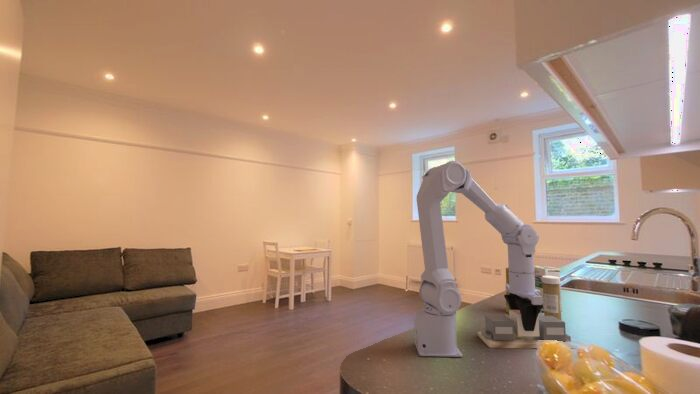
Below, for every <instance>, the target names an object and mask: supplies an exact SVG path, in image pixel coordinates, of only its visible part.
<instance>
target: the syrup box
mask: <svg viewBox="0 0 700 394" xmlns="http://www.w3.org/2000/svg"><path fill="white" fill-rule="evenodd" d="M534 275H535V289H538V290H540V293H538V294H539V295H540V296H542V303H543V284H542V276H556V277H559V279H560V280H561V268H558V267H551V266H545V265H534ZM561 285H562V284H561V281H560V284H559V289H560V302H561V313H562V311H563V309H562V308H563V307H562V288H561V287H562V286H561ZM541 311H542V312H544V304H543V307H542V309H541V310H540V312H541Z"/></svg>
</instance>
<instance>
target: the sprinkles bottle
mask: <svg viewBox="0 0 700 394" xmlns="http://www.w3.org/2000/svg"><path fill="white" fill-rule="evenodd" d="M560 282H561V278H560V279H559V277H556V276H542V284H543V304H544V311H543V314H544V315H543V316H554V317H556V318H558V319H560V320H562V312H561V304H562V301H561V302H560V289H559V284H560Z"/></svg>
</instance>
